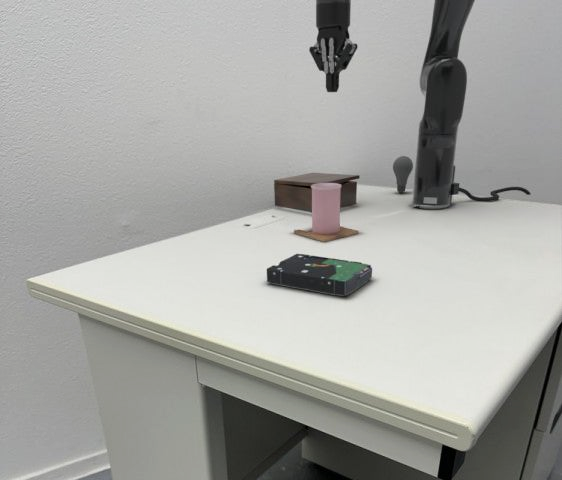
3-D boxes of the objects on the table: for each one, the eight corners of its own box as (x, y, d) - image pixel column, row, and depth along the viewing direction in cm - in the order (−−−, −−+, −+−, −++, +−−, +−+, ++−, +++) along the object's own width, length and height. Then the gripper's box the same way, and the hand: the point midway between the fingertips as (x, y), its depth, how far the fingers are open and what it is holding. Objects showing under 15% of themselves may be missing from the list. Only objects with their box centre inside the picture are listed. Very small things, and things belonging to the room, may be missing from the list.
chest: (356, 206, 143) (357, 181, 139) (318, 216, 134) (318, 190, 131) (312, 199, 153) (312, 175, 150) (274, 208, 144) (274, 183, 141)
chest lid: (359, 178, 139) (359, 175, 138) (320, 186, 130) (320, 183, 130) (312, 175, 150) (312, 172, 149) (274, 183, 141) (273, 180, 140)
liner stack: (326, 225, 123) (327, 181, 118) (346, 230, 118) (347, 185, 114) (305, 230, 120) (304, 185, 115) (324, 236, 115) (324, 189, 110)
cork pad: (327, 225, 125) (327, 223, 125) (358, 233, 118) (358, 230, 118) (293, 233, 120) (293, 230, 120) (323, 242, 113) (324, 239, 113)
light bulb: (409, 191, 159) (412, 154, 154) (411, 194, 154) (414, 157, 149) (390, 191, 160) (392, 155, 155) (392, 195, 155) (394, 157, 150)
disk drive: (266, 285, 91) (346, 298, 84) (265, 269, 90) (346, 280, 83) (296, 268, 99) (372, 278, 92) (296, 252, 98) (373, 262, 91)
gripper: (368, -1, 116) (364, 91, 125) (322, 6, 125) (322, 91, 133) (345, -3, 112) (343, 92, 120) (299, 4, 120) (300, 92, 129)
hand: (332, 92), depth 127 cm, fingers closed
